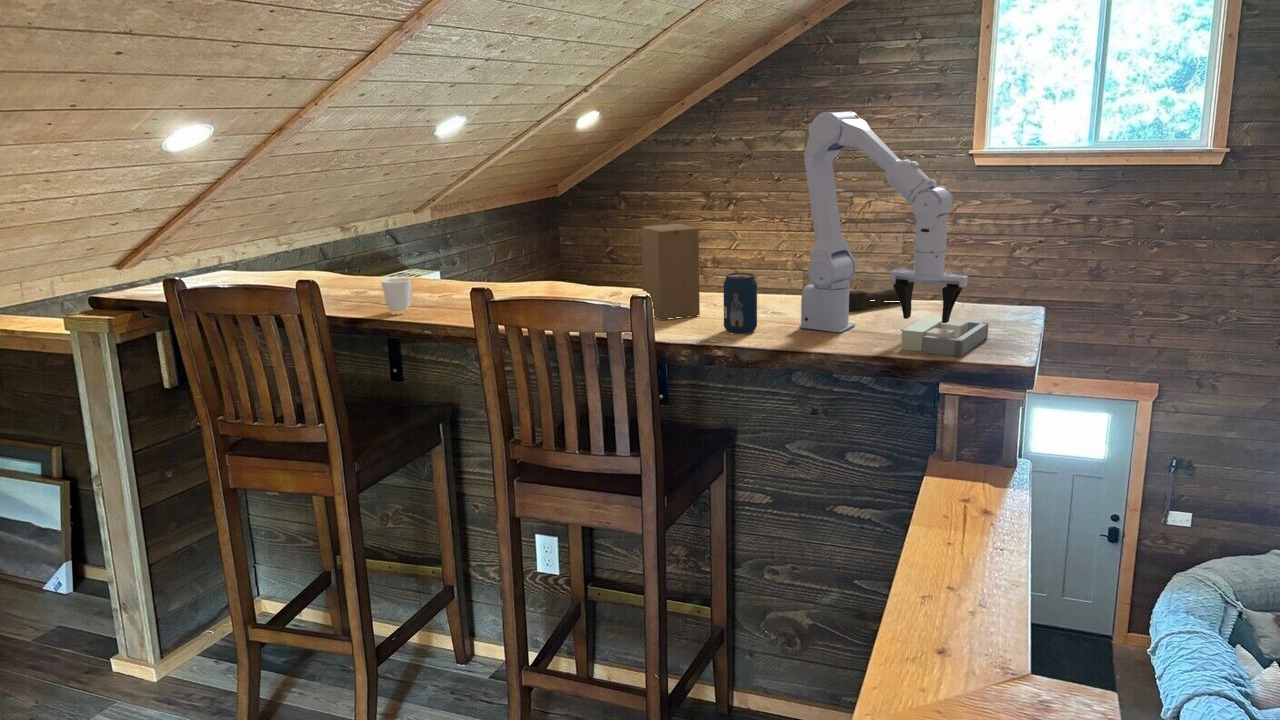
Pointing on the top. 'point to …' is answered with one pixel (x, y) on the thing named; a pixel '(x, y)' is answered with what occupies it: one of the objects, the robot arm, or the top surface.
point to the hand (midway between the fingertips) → (925, 319)
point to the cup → (397, 293)
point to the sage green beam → (918, 332)
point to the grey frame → (957, 340)
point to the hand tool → (862, 299)
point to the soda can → (740, 303)
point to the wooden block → (671, 269)
